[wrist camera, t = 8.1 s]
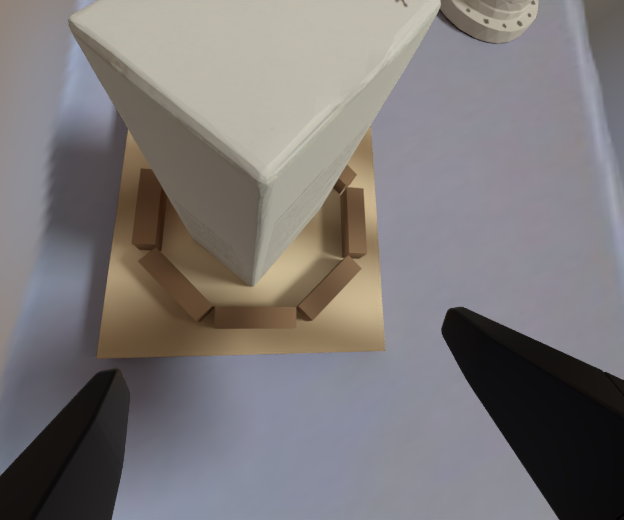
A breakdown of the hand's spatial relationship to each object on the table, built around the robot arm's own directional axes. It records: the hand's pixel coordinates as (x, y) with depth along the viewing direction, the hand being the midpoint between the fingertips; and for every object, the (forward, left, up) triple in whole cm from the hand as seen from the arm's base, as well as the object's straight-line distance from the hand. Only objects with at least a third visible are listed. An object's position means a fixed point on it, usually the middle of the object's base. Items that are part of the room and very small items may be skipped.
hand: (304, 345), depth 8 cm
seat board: (+6, +1, -9) cm, 11 cm away
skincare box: (+6, +1, -8) cm, 10 cm away
